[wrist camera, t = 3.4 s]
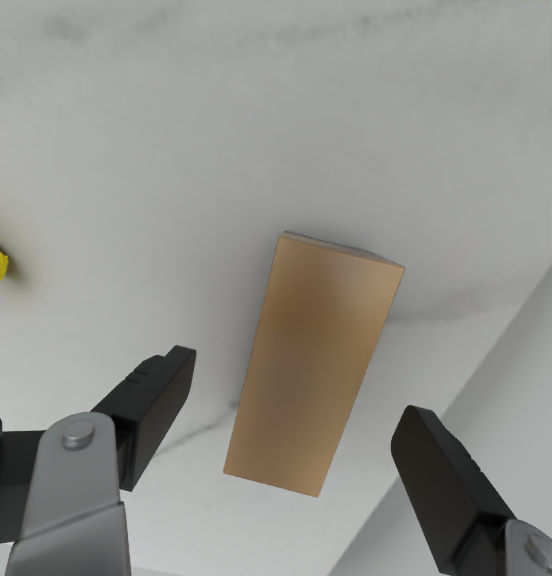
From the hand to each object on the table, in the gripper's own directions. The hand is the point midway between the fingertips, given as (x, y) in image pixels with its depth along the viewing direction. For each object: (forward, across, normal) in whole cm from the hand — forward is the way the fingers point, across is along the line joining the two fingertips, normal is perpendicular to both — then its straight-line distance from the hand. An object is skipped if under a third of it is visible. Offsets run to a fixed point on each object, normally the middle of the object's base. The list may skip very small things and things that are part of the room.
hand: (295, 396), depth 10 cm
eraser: (+5, 0, 0) cm, 5 cm away
